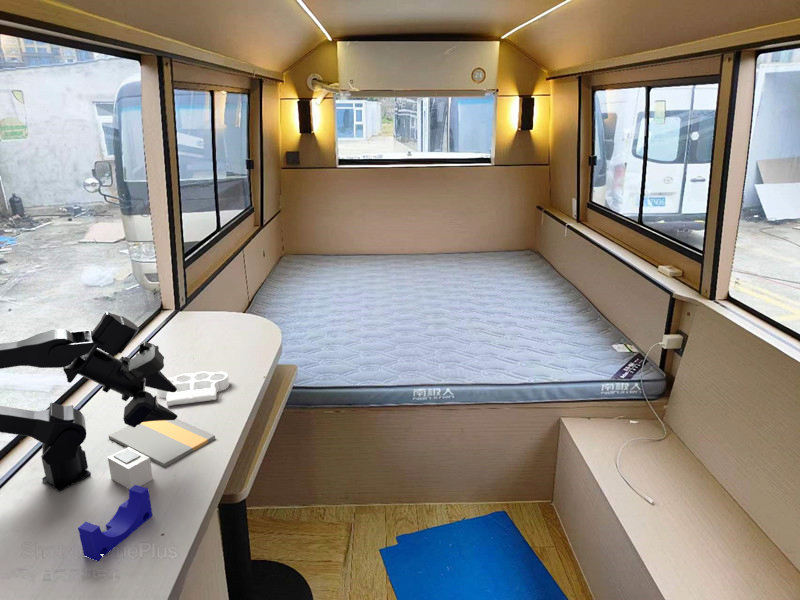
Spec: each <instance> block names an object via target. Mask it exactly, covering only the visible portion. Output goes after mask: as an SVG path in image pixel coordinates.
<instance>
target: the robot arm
mask: <svg viewBox="0 0 800 600" xmlns="http://www.w3.org/2000/svg"><path fill="white" fill-rule="evenodd" d="M139 331H140V328H139V327H138V325H137V324H135V323H134V322H133V321H131V320H130V319H128V318H126V317H125V316H122V315H118V314H115V313H111V312H109V311H105V312H104V313H103V315H102V316H101V320H100V321H99V322H98V323H97V324H96V326H95V328H94V329H93V330H91V329H86V330H84V329H83V330H75V331H69V330H67V329H65V328H56V329H51V330H47V331H43V332H40V333H37V334H35V335H32V336H29V337H28V338H25V339H21V340H18V341H12V342H11V341H10V342H4V343H0V370H3V369H8V368H13V367H21V366H22V367H31V368H33V367H34V368H38V369H39V368H40V369H49V368H50V369H51V368H52V369H55V368H56V369H59V368H62V369H63V372H64V374H65V376H66V380H67V382H68V383H69V384H71V383H72V382H73V381H74V380H75V379H76V377H77V375H79V376H81V377H84V378H85V379H88V380H90V381H92V382H95V383H96V384H99V385H101V386H102V391H103V392H104V393H108V392H110V390H112V391H114V392H116V393H118V394H120V395H121V400H122V401H124V402H127V401H128V400H129V399H130V398H131V400H130V401H129V402H128V403H126V405H125V406H124V411H123V422H124V424H125V425H127V426H131V427H136V426H137V425H140V424H141V423H142V422H148V421H163V420H175V419H178V414H176V413H175V412H173V411H172V410H170V409H169V408H167V407H165V406H163V405H162V404H160V403H159V401H158V398H157V397H158V396H157V394H156V395H154V396H153V394H151V393H150V392H149V391H146V387H147V388H151V389H155V390H156V389H159V390H163V391H167V392H173V393H174V392H176V390H177V388H176V387H175V386H174V385H173V384H172V383H171V382H170V381H169V380H168V379H167V378H168V377H166V376H165V374H164V373H162V370H163V369H164V366H165V363H164V360H165V356H164V355H163V354H162V353H161V352H160V351H159V345H155V344H153V343H151V342H148V341H146V340H145V341H142V342H140V343H138V352H137V353H135V356H134V357H133V358H130V357H127V356H121V357H120V358H119V359H118V358H116V357H114V356H113V355H118V354H122V353H123V352H124V350H125V349H126V347H127V346H128V345H129V344H130V343H131V341H132V340H133V339H134V337H135V336H136V335H137V334H138V332H139ZM86 426H87V425H86V418H85V416H84V414H83V413H82V411H80V410H79V409H75V408H74V405H63V404H59V403H55V402H51V403H49V407H48V409H44V410H37V411H36V410H28V409H23V408H17V407H11V406H10V407H9V406H5V405H4V406H3V405H0V433H2V434H9V435H10V434H11V435H17V436H18V435H19V436H25V437H31V438H32V439H34V440H36V441H37V442H40V443H41V444H42V447H41V449H42V450H41V451H42V453H41V456H40V457H41V462H42V466H43V470H44V475H45V476H44V477H42V478H41V479H42V481H43V482H44V483H46V484H47V485H48V486H50V487H52V488H53V489H55V490H56V491H58V492H60V491H62V490H65V489H67V488H68V487H70V486H72V485H74V484H76V483H78V482H80V481H82V480H83V479H86V478H88V477H90V476H91V475H92V473H91V471H90V470H88V469H89V464H88V461H87V455H86V451H85V450H83V448H82V444H83V443H84V442H85V440H86V438H87V428H86Z"/></svg>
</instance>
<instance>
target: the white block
mask: <svg viewBox="0 0 800 600" xmlns="http://www.w3.org/2000/svg"><path fill="white" fill-rule="evenodd" d="M107 461H108V462H107V463H108V468H109V473H110V478H111V480H113V481H115V482H116V483H118V484H119V485H121V486H123V487H125V488H127V489H128V490H129V489H130V488H132V487H133V486H134V485H138V486H141V487H142V486H143V485H145V484H147V483H149V482H150V481H152V480H153V479H154V477H153V470H152V465H151V460H150V458H149V457H147V456H145V455H143V454H141V453H140V452H138V451H136V450H134V449H132V448H130V447H128V448H127V447H125V448H124V449H122V450H120V451H117V452H115V453H114V454H111V455H109V456H107Z"/></svg>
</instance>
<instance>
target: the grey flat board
mask: <svg viewBox="0 0 800 600" xmlns="http://www.w3.org/2000/svg"><path fill="white" fill-rule="evenodd" d="M108 439H109V440H111V441H114V442H115V443H116V444H119V445H121V446H122V447H124V448H128V447H130V448H132V449H134V450H136V451H138V452H140V453H141V454H143V455H145V456H147V457H149V458H150V461H152V462H154V463H156V464H158V465H160V466H161V467H164V468H166V467H168V466H169V465H172V464H173V463H174V462H176V461H178V460H179V459H181V458H182V459H183V457H185V456H187V455H188V454H190V453H192V452H194V451H196V450H197V449H199V448H202V447H203V446H204V445H207V444H208V443H210V442H212V441H214V440H216V434H212V433H210V432H208V431H206V430H204V429H201V428H199V427H197V426H195V425H192V424H189V423H188V422H185V421H183V420H181V419H178V418H176V419H175V420H163V421H148V422H142V423H141V424H140V425H137V426H136V427H131V426H129V425H127V426H126V427H123V428H121V429H119V430H117V431H114V432H113V433H110V434H108Z"/></svg>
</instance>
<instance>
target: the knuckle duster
mask: <svg viewBox="0 0 800 600" xmlns="http://www.w3.org/2000/svg"><path fill="white" fill-rule="evenodd" d="M166 378H167V379H168V380H169V381H170V382H171V383H172V384H173V385H174V386H175V387H176V388H177V390H176V392H174V393H173V392H167V391H163V390H159V389H155V390H156V397H158V398H161V399H166V405H167V407H171V406H177V405H186V404H195V403H201V402H207V401H208V402H209V401H210V402H211V401H217V394H218V393H219V392H222V390H223V391H225V390H226V389H225V388H227V387H228V386H229V387H230V381H229V379H230V378H229V374H228V373H227V372H225V371H218V372H217V371H216V372H211V371H210V372H209V371H198V372H195V373H194V372H193V373H192V372H191V373H181V374H178V375H176V376H173V377H166ZM229 387H228V388H229ZM228 388H227V389H228ZM224 389H225V390H224ZM218 391H219V392H218ZM217 392H218V393H217Z"/></svg>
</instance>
